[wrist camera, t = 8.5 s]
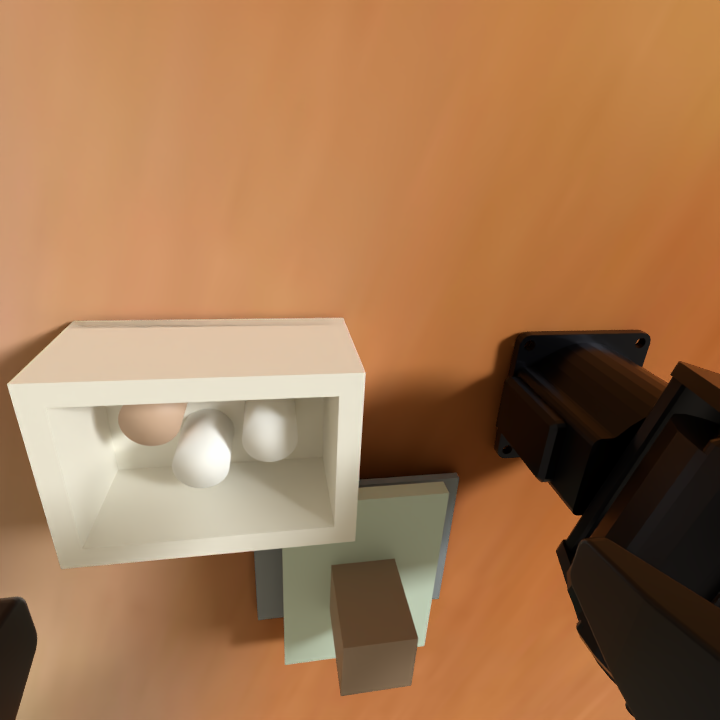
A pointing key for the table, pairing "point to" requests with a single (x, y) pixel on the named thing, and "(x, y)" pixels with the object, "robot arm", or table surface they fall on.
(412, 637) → the lid
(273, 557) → the mat
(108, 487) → the caddy
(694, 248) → the table surface
